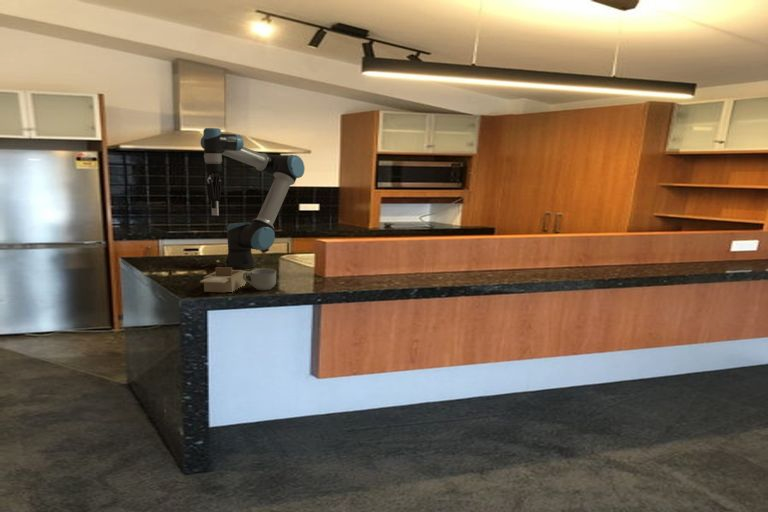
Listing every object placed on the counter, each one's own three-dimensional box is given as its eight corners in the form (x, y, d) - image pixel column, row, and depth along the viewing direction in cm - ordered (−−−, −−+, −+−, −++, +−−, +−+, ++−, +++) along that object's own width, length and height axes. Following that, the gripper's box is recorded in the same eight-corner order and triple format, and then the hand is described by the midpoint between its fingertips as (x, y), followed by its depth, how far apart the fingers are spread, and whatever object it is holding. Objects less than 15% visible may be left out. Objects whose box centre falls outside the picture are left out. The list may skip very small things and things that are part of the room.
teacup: (278, 286, 232) (278, 268, 231) (274, 291, 222) (274, 273, 220) (246, 285, 232) (246, 268, 231) (240, 291, 221) (240, 273, 220)
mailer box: (220, 283, 236) (219, 269, 235) (246, 284, 235) (245, 270, 234) (204, 291, 220) (203, 276, 219) (231, 292, 219) (231, 277, 218)
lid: (214, 275, 227) (214, 266, 226) (236, 276, 226) (236, 267, 225) (200, 282, 214) (199, 272, 213) (223, 283, 213) (222, 273, 212)
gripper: (211, 163, 245) (213, 213, 249) (198, 162, 232) (201, 216, 236) (227, 163, 244) (228, 214, 248) (215, 163, 232) (217, 216, 236)
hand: (215, 215), depth 242 cm, fingers closed
